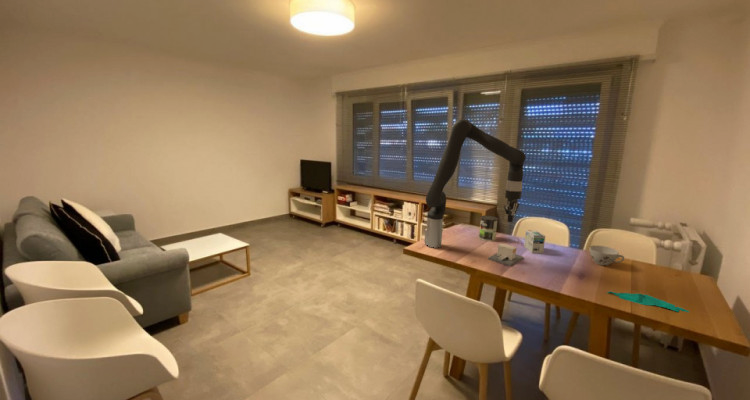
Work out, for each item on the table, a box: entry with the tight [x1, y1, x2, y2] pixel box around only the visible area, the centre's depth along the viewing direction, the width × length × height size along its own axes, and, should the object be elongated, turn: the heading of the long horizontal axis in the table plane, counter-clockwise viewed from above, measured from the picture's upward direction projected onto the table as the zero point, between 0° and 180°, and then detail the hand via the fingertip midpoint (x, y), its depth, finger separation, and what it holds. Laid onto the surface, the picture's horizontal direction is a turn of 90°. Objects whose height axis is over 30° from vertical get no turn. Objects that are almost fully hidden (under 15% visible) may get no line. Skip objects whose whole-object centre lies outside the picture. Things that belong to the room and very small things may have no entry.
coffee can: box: [478, 215, 499, 242], centre depth 201 cm, size 10×10×14 cm
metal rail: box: [497, 255, 508, 261], centre depth 169 cm, size 3×14×1 cm, turn 132°
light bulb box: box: [523, 229, 546, 254], centre depth 182 cm, size 11×7×11 cm, turn 179°
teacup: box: [589, 245, 625, 267], centre depth 164 cm, size 15×12×8 cm
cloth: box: [606, 290, 690, 313], centre depth 128 cm, size 26×14×2 cm, turn 45°
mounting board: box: [487, 253, 525, 267], centre depth 169 cm, size 12×16×1 cm
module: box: [496, 243, 517, 260], centre depth 168 cm, size 8×4×6 cm, turn 43°
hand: (510, 221), depth 165 cm, fingers closed
